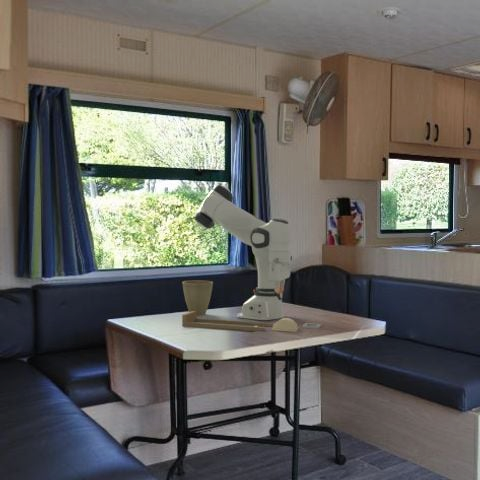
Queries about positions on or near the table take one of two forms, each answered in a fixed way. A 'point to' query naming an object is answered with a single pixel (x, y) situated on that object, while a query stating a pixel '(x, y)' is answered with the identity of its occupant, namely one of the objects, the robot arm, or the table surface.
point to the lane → (237, 324)
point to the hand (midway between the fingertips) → (279, 290)
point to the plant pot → (197, 295)
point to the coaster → (311, 325)
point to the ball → (280, 289)
